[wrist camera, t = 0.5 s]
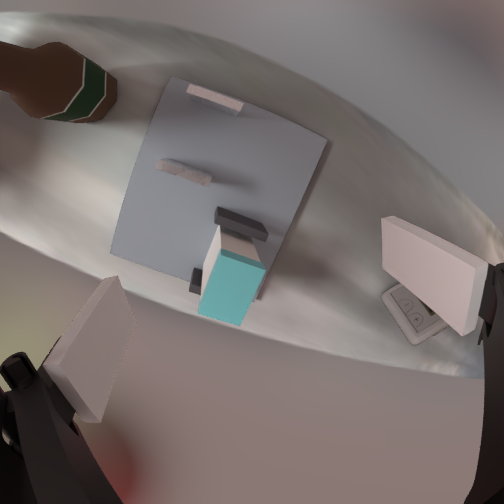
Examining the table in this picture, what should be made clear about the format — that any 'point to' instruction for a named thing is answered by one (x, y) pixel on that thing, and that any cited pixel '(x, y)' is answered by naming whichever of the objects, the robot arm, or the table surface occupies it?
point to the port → (214, 102)
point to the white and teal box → (230, 276)
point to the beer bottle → (56, 82)
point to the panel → (212, 181)
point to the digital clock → (412, 314)
